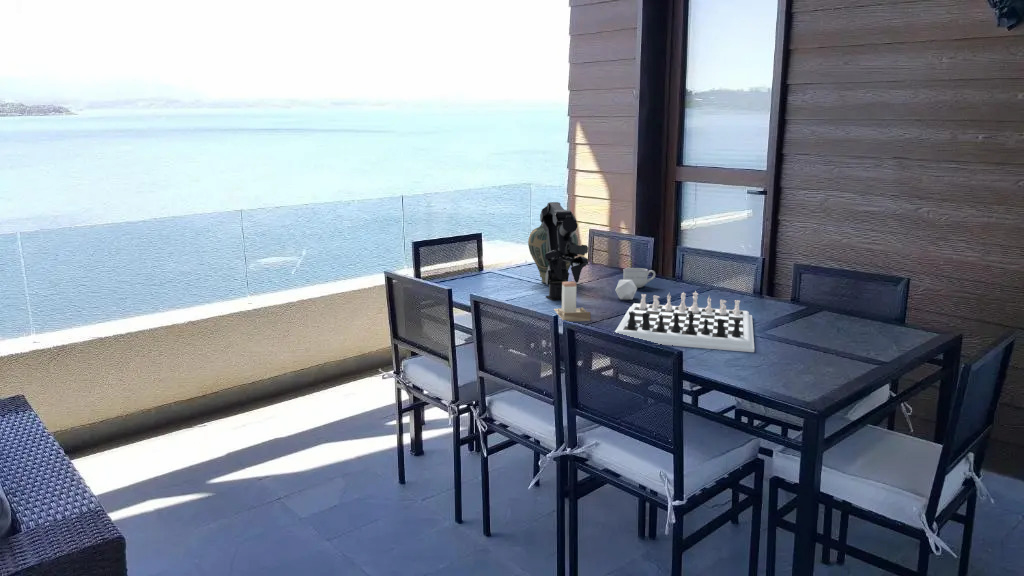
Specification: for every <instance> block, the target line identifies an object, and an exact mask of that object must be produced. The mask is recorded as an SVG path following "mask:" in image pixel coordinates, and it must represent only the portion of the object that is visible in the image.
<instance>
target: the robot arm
mask: <svg viewBox="0 0 1024 576" xmlns="http://www.w3.org/2000/svg"><path fill="white" fill-rule="evenodd" d="M539 217H540V218H539V221H540V223H542V227H543V228H544V229H545V231H546V232H547V237H548V245H549V252H547V253H546V254H545V261H548V263H549V266H548V269H547V272H546V276H545V284H546V285H548V295H545V298H547V299H549V300H551V301H560V300H562V282H569V277H570V272H569V270H567V268H566V262H565V261H567V262H570V263H571V266H570V270H571V272H572V276H573V279H574V282H575V283H576V284H577V283H578V282H579V281H580V280H579V279H580V276H581V273H582V270H583V268H585V267H586V266H588V265H589V259H588V258H587V257H586V256H585V255H587V254H588V252H589V248H588V247H589V246H588V245H586V244H581V245H579V244H578V245H576V244H575V243H573V239H572V235H573V234H574V232H575V233H576V231H577V230H578V223H577V222H578V221H577V218H576V216H574V213H573V212H572V210H569V209H564V207H562V205H561V203H560V202H559V201H553V202H552V201H550V202H547V204H546V205H545V206H544V207H543V208H542V209H541V211H540V215H539ZM559 226H560V228H558V227H559ZM557 229H558V230H557ZM584 256H585V257H584ZM574 257H575V258H574ZM549 280H550V281H549Z"/></svg>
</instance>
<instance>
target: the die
mask: <svg viewBox="0 0 1024 576" xmlns="http://www.w3.org/2000/svg"><path fill="white" fill-rule="evenodd" d="M637 290H638V288H637V287H636V286H635V284H634V282H633V281H632V280H623V279H618V282H617V286H616V288H615V290H614V291H615V292H616V295H617V296H618V299H619V300H633V299H634V297H635V295H636V293H637Z"/></svg>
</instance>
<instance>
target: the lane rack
mask: <svg viewBox="0 0 1024 576" xmlns="http://www.w3.org/2000/svg"><path fill="white" fill-rule="evenodd" d="M553 310H554V311H555V313H556V314H557V315H558V316H559V318H561V320H562V321H563V320H567V321H566V322H586V321H588V322H589V321H590V322H591V321H592V320H591V311H587V310H586V309H585V308H584V307H576V312H568V313H564V311H563V310H562V307H560V308H559V307H558V308H553Z"/></svg>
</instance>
